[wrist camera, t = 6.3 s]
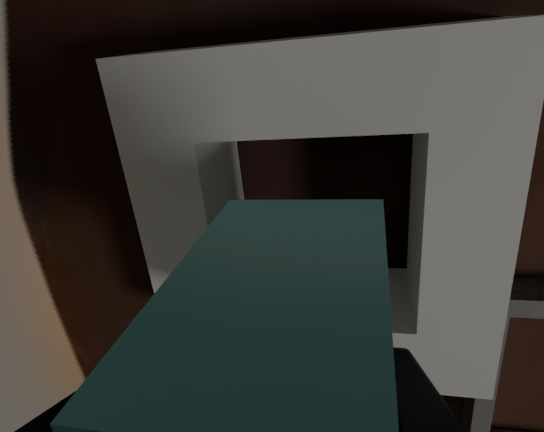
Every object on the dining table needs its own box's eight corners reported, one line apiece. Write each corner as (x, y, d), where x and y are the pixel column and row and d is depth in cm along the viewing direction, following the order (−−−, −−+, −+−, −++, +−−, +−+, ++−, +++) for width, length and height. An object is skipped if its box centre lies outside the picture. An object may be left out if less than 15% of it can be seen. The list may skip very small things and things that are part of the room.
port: (504, 16, 12) (563, 13, 9) (467, 321, 17) (494, 407, 13) (159, 50, 15) (89, 59, 11) (208, 307, 20) (169, 374, 16)
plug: (383, 199, 10) (425, 836, 2) (381, 328, 12) (400, 967, 4) (229, 200, 11) (-133, 651, 3) (246, 319, 13) (37, 818, 5)
